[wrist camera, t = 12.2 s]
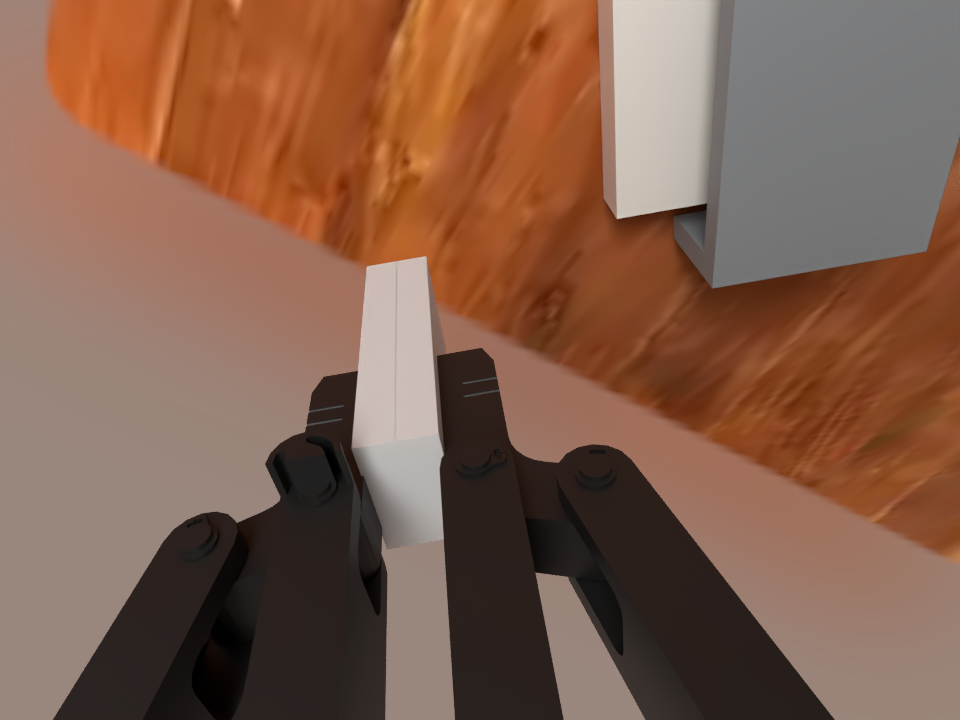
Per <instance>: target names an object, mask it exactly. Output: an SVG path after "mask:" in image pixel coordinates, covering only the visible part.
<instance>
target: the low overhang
mask: <svg viewBox="0 0 960 720" xmlns="http://www.w3.org/2000/svg"><path fill="white" fill-rule="evenodd" d="M959 137H960V0H721V5H720V20H719V35H718V50H717V65H716V80H715V95H714V109H713V124H712V139H711V154H710V169H709V184H708V199H707V210H704V211H698V212H693V213H687V214H681V215H675V216H674V231H673V238H674V239H675V240H676V242H677V243H678V244H679V246H680V247H681V248H682V250H683V251H684V252H685V254H686V255H687V256H688V257H689V259H690V260H691V261H692V263H693V264H694V265H695V267H696V268H697V269H698V270H699V272H700V273H701V274H702V276H703V277H704V278H705V280H706V281H707V282H708V284H709V285H710V286H711V287H712V289H713V288H718V287H724V286H730V285H736V284H741V283H747V282H753V281H759V280H764V279H770V278H776V277H782V276H787V275H793V274H799V273H805V272H811V271H816V270H822V269H828V268H834V267H839V266H845V265H851V264H857V263H862V262H868V261H874V260H880V259H885V258H891V257H897V256H903V255H908V254H914V253H920V252H926V251H927V247H928V244H929V241H930V237H931V234H932V230H933V227H934V223H935V220H936V216H937V213H938V209H939V206H940V203H941V199H942V196H943V192H944V189H945V185H946V182H947V178H948V175H949V171H950V168H951V165H952V161H953V158H954V154H955V151H956V147H957V144H958V140H959Z"/></svg>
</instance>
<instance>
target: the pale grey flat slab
mask: <svg viewBox="0 0 960 720" xmlns="http://www.w3.org/2000/svg"><path fill="white" fill-rule="evenodd" d="M720 5H721V0H598V28H599V60H600V92H601V125H602V157H603V189H604V200H605V201H606V203H607V204H608V206H609V207H610V209H611V211H612V212H613V214H614V215H615V217H616V218H617V219H620V218H626V217H631V216H637V215H643V214H649V213H654V212H660V211H666V210H672V209H677V208H683V207H689V206H695V205H700V204H706V203H707V199H708V184H709V169H710V154H711V139H712V124H713V109H714V95H715V80H716V65H717V50H718V35H719V20H720Z"/></svg>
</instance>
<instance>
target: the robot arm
mask: <svg viewBox="0 0 960 720" xmlns="http://www.w3.org/2000/svg"><path fill="white" fill-rule="evenodd" d="M360 343H361V344H360V354H359V366H358V371H356V372H349V373H344V374H338V375H332V376H326V377H323V379H322V380H321V381H320V383H319V384H318V386H317V387H316V388H315V390H314V391H313V392H312V396H311V402H310V407H309V411H310V413H308V419H307V427H306V431H305V432H304V433H301V434H298V435H294V436H292V437H290V438H289V439H287V440H285V441H284V442H282V443H280V444H279V445H278V446H277V447H276V448H275V449H274V450H273V451H272V452H271V453H270V455H269V457H268V460H267V462H266V464H265V465H266V467H267V469H268V471H269V473H270V475H271V477H272V479H273V482H274V484H275V486H276V488H277V490H278V492H279V494H280V496H281V498H280V501H279V502H278V503H277V504H275V505H274V506H273V507H271V508H269V509H267V510H265V511H263V512H262V513H259V514H257V515H254V516H252V517H250V518H247V519H245V520H243V521H241V522H238V523H236V521H235V520H234V519H233V518H232V517H230V516H229V515H228V514H225V513H220V512H210V513H203V514H200V515H197V516H195V517H193V518H190V519H188V520H186V521H185V522H184V523H182V524H181V525H179V526H178V527H177V528H175V529H174V530H173V531H172V532H171V533H170V535H169V536H168V537H167V538H166V539H165V541H164V542H163V543H162V545H161V547H160V548H159V550H158V551H157V553H156V555H155V556H154V558H153V559H152V561H151V563H150V564H149V566H148V568H147V569H146V571H145V572H144V574H143V576H142V577H141V579H140V580H139V582H138V584H137V585H136V587H135V588H134V590H133V592H132V593H131V595H130V597H129V598H128V600H127V601H126V603H125V605H124V606H123V608H122V609H121V611H120V613H119V614H118V616H117V618H116V619H115V621H114V622H113V624H112V626H111V627H110V629H109V630H108V632H107V634H106V635H105V637H104V639H103V640H102V642H101V643H100V645H99V646H98V648H97V650H96V651H95V653H94V654H93V656H92V658H91V660H90V661H89V663H88V664H87V666H86V667H85V669H84V671H83V672H82V674H81V675H80V677H79V679H78V680H77V682H76V683H75V685H74V687H73V688H72V690H71V692H70V693H69V695H68V696H67V698H66V700H65V701H64V703H63V704H62V706H61V708H60V709H59V711H58V712H57V714H56V716H55V717H54V719H53V720H385V693H386V692H385V691H386V685H385V684H386V627H387V626H386V625H387V621H386V620H387V570H386V566H385V562H384V560H383V557H382V554H381V548H382V536H383V539H384V541H385V544H386V547H387V549H392V548H397V547H403V546H409V545H415V544H421V543H426V542H432V541H438V540H444V550H445V565H446V582H447V597H448V614H449V629H450V645H451V660H452V677H453V691H454V692H453V693H454V708H455V720H563V714H562V709H561V704H560V699H559V694H558V688H557V683H556V678H555V673H554V667H553V663H552V657H551V652H550V647H549V642H548V636H547V631H546V626H545V621H544V616H543V610H542V605H541V600H540V595H539V590H538V584H537V579H536V574H535V572H536V573H544V574H552V575H559V576H567V577H568V578H569V581H570V582H571V584H572V586H573V588H574V590H575V592H576V594H577V595H578V597H579V599H580V600H581V603H582V604H583V606H584V608H585V610H586V612H587V614H588V615H589V617H590V619H591V621H592V623H593V624H594V626H595V628H596V630H597V632H598V634H599V636H600V637H601V639H602V641H603V643H604V644H605V646H606V648H607V650H608V652H609V654H610V656H611V657H612V659H613V661H614V663H615V665H616V667H617V668H618V670H619V672H620V674H621V675H622V678H623V679H624V681H625V683H626V685H627V687H628V688H629V690H630V692H631V694H632V696H633V698H634V699H635V701H636V703H637V705H638V707H639V709H640V710H641V712H642V714H643V716H644V718H645V720H834V718H833V717H832V716H831V715H830V713H829V712H828V711H827V709H826V708H825V707H824V706H823V704H822V703H821V702H820V700H819V699H818V698H817V697H816V695H815V694H814V693H813V692H812V690H811V689H810V688H809V686H808V685H807V684H806V683H805V681H804V680H803V679H802V678H801V676H800V675H799V674H798V672H797V671H796V670H795V669H794V667H793V666H792V665H791V663H790V662H789V661H788V660H787V658H786V657H785V656H784V654H783V653H782V652H781V651H780V649H779V648H778V647H777V646H776V644H775V643H774V642H773V641H772V639H771V638H770V637H769V635H768V634H767V633H766V631H765V630H764V629H763V628H762V626H761V625H760V624H759V622H758V621H757V620H756V619H755V617H754V616H753V615H752V614H751V612H750V611H749V610H748V609H747V607H746V606H745V605H744V603H743V602H742V601H741V600H740V598H739V597H738V596H737V594H736V593H735V592H734V591H733V589H732V588H731V587H730V585H729V584H728V583H727V582H726V580H725V579H724V578H723V576H722V575H721V574H720V573H719V571H718V570H717V569H716V568H715V566H714V565H713V564H712V562H711V561H710V560H709V559H708V557H707V556H706V555H705V553H704V552H703V551H702V550H701V548H700V547H699V546H698V545H697V543H696V542H695V541H694V539H693V538H692V537H691V536H690V534H689V533H688V532H687V530H686V529H685V528H684V527H683V525H682V524H681V523H680V522H679V520H678V519H677V518H676V516H675V515H674V514H673V513H672V512H671V510H670V509H669V507H668V506H667V505H666V504H665V502H664V501H663V500H662V498H661V497H660V496H659V495H658V493H657V492H656V491H655V490H654V488H653V487H652V486H651V484H650V483H649V482H648V481H647V479H646V478H645V477H644V475H643V474H642V473H641V472H640V471H639V469H638V468H637V467H636V465H635V464H634V463H633V461H632V460H631V459H630V458H628V457H627V456H626V455H625V454H624V453H623V452H622V451H620V450H618V449H615V448H612V447H609V446H605V445H588V446H583V447H578V448H576V449H575V450H573V451H571V452H569V453H567V454H566V455H565V456H564V457H563V459H562V460H561V461H560V462H559V463H553V462H543V461H538V460H533V459H531V458H528V457H526V456H524V455H522V454H521V453H519V452H518V451H516V449H515V448H514V447H513V446H512V445H511V442H510V440H509V437H508V432H507V427H506V422H505V417H504V412H503V407H502V401H501V396H500V391H499V386H498V381H497V376H496V371H495V365H494V360H493V359H492V358H491V357H490V356H489V355H488V354H487V353H486V352H485V351H484V350H483V349H482V348H479V349H473V350H467V351H462V352H456V353H450V354H446V351H445V343H444V338H443V333H442V328H441V324H440V319H439V314H438V310H437V305H436V300H435V295H434V291H433V286H432V281H431V277H430V272H429V267H428V263H427V258H426V256H425V257H419V258H413V259H407V260H402V261H396V262H390V263H384V264H379V265H373V266H367V272H366V285H365V296H364V307H363V319H362V331H361V342H360Z"/></svg>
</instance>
